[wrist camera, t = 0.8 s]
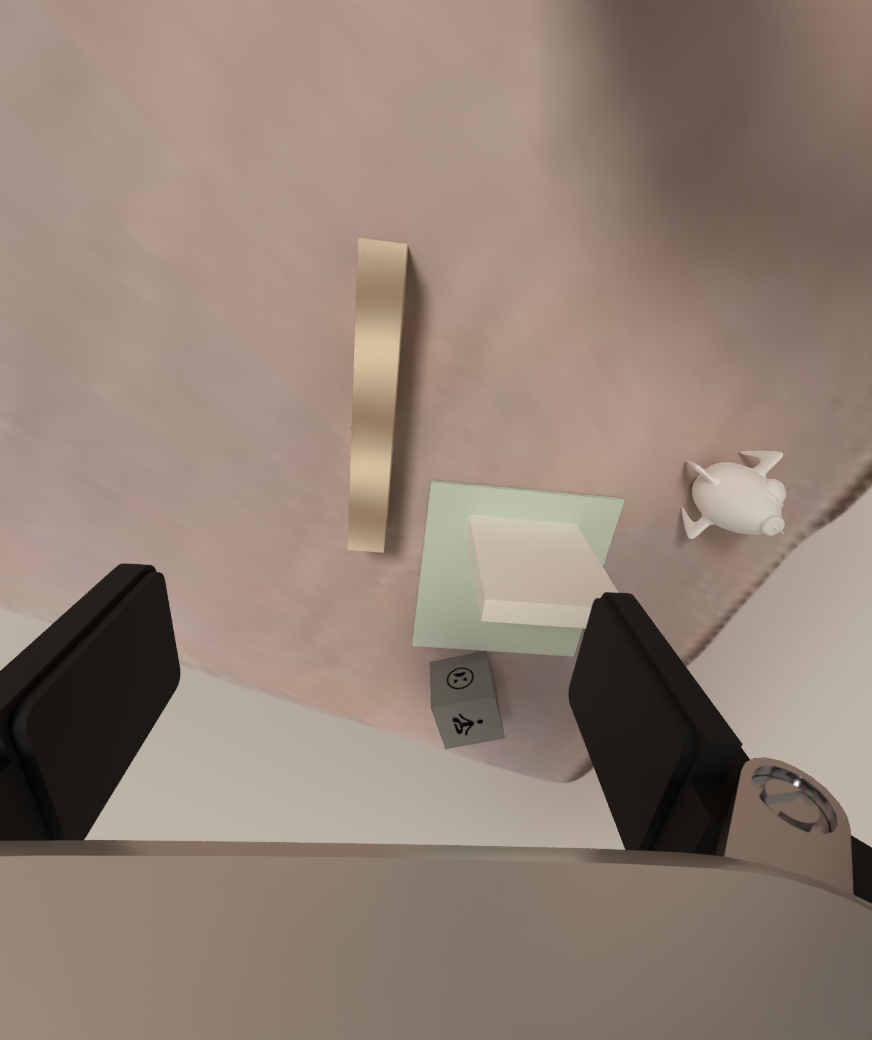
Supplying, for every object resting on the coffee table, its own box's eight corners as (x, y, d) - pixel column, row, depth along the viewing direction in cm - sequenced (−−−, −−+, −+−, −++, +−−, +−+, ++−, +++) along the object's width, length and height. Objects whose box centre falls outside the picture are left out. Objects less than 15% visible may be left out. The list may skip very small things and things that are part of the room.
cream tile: (469, 514, 34) (485, 598, 25) (576, 524, 35) (629, 609, 26) (465, 535, 35) (480, 623, 26) (570, 544, 36) (620, 633, 27)
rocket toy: (751, 437, 33) (843, 482, 26) (741, 507, 35) (822, 565, 28) (672, 450, 33) (742, 498, 26) (667, 518, 35) (730, 579, 28)
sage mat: (431, 479, 33) (430, 482, 33) (622, 497, 34) (624, 500, 34) (412, 642, 40) (412, 646, 40) (572, 653, 41) (573, 656, 41)
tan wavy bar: (366, 242, 27) (358, 237, 23) (408, 247, 27) (407, 244, 24) (354, 521, 35) (347, 549, 32) (387, 524, 35) (383, 552, 32)
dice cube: (429, 661, 41) (431, 708, 37) (485, 650, 41) (493, 696, 37) (443, 700, 44) (445, 749, 39) (496, 690, 43) (504, 738, 39)
